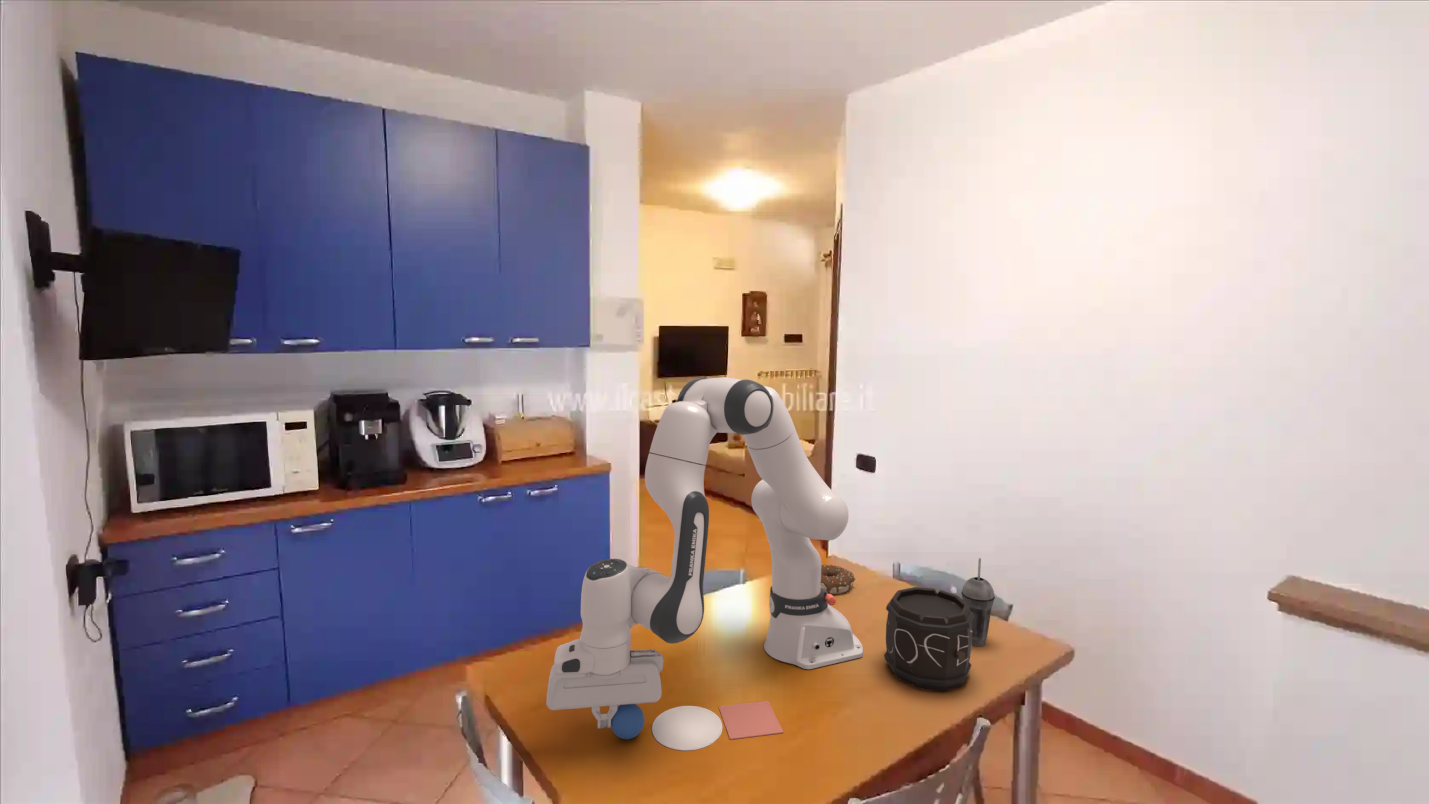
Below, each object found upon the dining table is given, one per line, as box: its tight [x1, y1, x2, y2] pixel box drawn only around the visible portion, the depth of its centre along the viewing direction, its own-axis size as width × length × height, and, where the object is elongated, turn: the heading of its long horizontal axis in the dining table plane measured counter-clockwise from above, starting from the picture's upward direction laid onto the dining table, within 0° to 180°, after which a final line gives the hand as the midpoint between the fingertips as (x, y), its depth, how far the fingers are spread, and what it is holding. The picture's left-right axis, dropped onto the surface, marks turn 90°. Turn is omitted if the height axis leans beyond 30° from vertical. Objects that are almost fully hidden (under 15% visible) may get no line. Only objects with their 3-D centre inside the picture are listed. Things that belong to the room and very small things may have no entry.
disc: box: [651, 705, 723, 752], centre depth 118 cm, size 13×13×1 cm
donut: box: [821, 564, 856, 595], centre depth 183 cm, size 14×14×5 cm
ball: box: [610, 704, 645, 740], centre depth 116 cm, size 6×6×6 cm
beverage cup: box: [961, 557, 996, 647], centre depth 150 cm, size 7×7×20 cm
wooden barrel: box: [883, 586, 974, 692], centre depth 137 cm, size 18×18×16 cm
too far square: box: [718, 700, 784, 741], centre depth 121 cm, size 10×10×1 cm
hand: (604, 726), depth 115 cm, fingers closed
